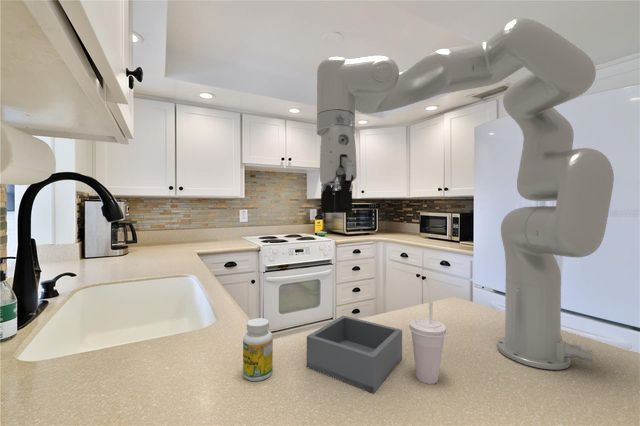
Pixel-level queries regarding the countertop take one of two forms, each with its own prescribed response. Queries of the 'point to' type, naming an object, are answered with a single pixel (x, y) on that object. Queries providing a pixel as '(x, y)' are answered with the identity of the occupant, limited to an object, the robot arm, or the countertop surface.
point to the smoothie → (427, 347)
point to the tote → (355, 351)
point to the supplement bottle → (257, 350)
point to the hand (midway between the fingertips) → (335, 212)
